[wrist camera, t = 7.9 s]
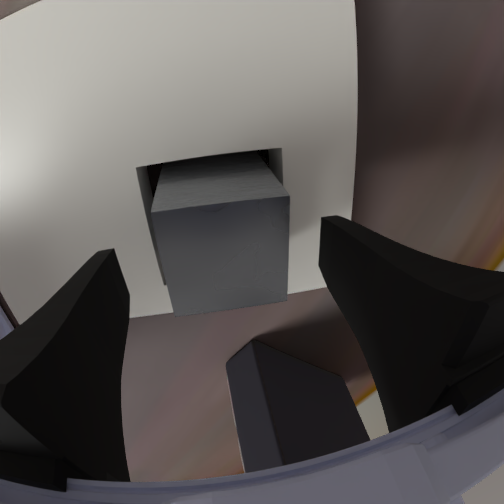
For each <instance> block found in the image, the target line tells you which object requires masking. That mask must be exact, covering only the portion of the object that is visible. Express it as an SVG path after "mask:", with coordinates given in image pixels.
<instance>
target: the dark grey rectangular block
mask: <svg viewBox="0 0 504 504" xmlns="http://www.w3.org/2000/svg"><path fill="white" fill-rule="evenodd" d="M226 370H227V381H228V387H229V393H230V399H231V405H232V411H233V416H234V422H235V426H236V428H237V433H238V443H239V449H240V454H241V459H242V464H243V469H244V473H249V472H255V471H261V470H266V469H271V468H276V467H280V466H285V465H289V464H293V463H298V462H302V461H306V460H309V459H313V458H317V457H320V456H324V455H327V454H331V453H334V452H337V451H341V450H344V449H347V448H350V447H353V446H356V445H359V444H362V443H365V442H367V441H370V438H369V436H368V434H367V432H366V429H365V427H364V424H363V422H362V420H361V417H360V415H359V413H358V411H357V408H356V406H355V404H354V402H353V399H352V397H351V395H350V393H349V390H348V388H347V386H346V384H345V382H344V380H343V378H342V377H340V376H338V375H335V374H333V373H330V372H328V371H325V370H323V369H321V368H318V367H316V366H313V365H311V364H308V363H306V362H304V361H301V360H299V359H297V358H294V357H292V356H290V355H287V354H285V353H283V352H280V351H278V350H276V349H274V348H271V347H269V346H267V345H265V344H263V343H260V342H258V341H256V340H252V341H251V342H250V343H249V344H247V345H246V346H245V347H244V348H243V349H242V350H240V351H239V352H238V353H237V354H236V355H235V356H233V357H232V358H231V359H230V360H229V361H228V362H227V363H226Z"/></svg>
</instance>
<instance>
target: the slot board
mask: <svg viewBox="0 0 504 504" xmlns="http://www.w3.org/2000/svg"><path fill="white" fill-rule="evenodd" d="M357 103H358V71H357V36H356V17H355V2H354V0H42V1H39V2H37V3H35V4H32V5H30V6H28V7H26V8H24V9H21V10H19V11H17V12H15V13H13V14H11V15H9V16H7V17H5V18H3V19H2V20H0V292H1V294H2V295H3V297H4V299H5V301H6V303H7V304H8V306H9V308H10V309H11V311H12V313H13V315H14V316H15V318H16V320H17V321H18V323H19V324H20V325H21V324H22V323H23V322H25V321H26V320H27V319H28V318H29V317H30V316H32V315H33V314H34V313H35V312H36V311H37V310H39V309H40V308H41V307H42V306H43V305H44V304H45V303H46V302H47V301H48V300H49V299H50V298H51V297H52V296H53V295H54V294H55V293H56V292H57V291H58V290H59V289H60V288H61V287H62V286H63V285H64V284H65V283H66V282H67V281H68V280H69V279H70V278H71V277H72V276H73V275H74V274H75V273H76V272H77V271H78V270H79V269H80V268H81V267H82V266H83V265H84V264H85V263H86V261H87V260H89V259H90V258H91V257H92V256H93V255H94V254H95V253H96V252H98V251H101V250H107V249H112V248H114V249H115V252H116V255H117V259H118V262H119V265H120V268H121V270H122V273H123V276H124V279H125V282H126V285H127V288H128V290H129V293H130V316H129V318H133V317H141V316H149V315H157V314H164V313H172V312H173V308H172V304H171V300H170V296H169V292H168V288H167V284H166V280H165V276H164V272H163V268H162V264H161V259H160V255H159V251H158V246H157V242H156V237H155V232H154V227H153V223H152V218H151V213H150V212H151V208H152V204H153V195H152V190H151V185H150V180H149V175H148V169H147V165H152V164H158V163H164V162H170V161H176V160H182V159H189V158H196V157H203V156H210V155H217V154H225V153H234V152H242V151H252V150H262V149H268V155H269V169H270V170H271V171H272V173H273V174H274V175H275V177H276V178H277V179H278V180H279V182H280V183H281V184H282V186H283V187H284V188H285V190H286V191H287V192H288V194H289V195H290V226H289V265H288V294H291V293H297V292H302V291H308V290H313V289H318V288H323V287H327V285H326V283H325V281H324V278H323V276H322V273H321V271H320V268H319V266H318V261H319V245H320V227H321V217H326V216H333V215H338V216H341V217H344V218H346V219H349V220H351V215H352V203H353V191H354V177H355V161H356V140H357Z"/></svg>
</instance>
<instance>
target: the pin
mask: <svg viewBox="0 0 504 504" xmlns="http://www.w3.org/2000/svg"><path fill="white" fill-rule="evenodd" d="M150 213H151V218H152V223H153V227H154V232H155V237H156V242H157V246H158V251H159V255H160V259H161V264H162V268H163V272H164V276H165V280H166V284H167V288H168V292H169V296H170V300H171V304H172V308H173V312H174V315H175V317H177V316H185V315H193V314H201V313H209V312H216V311H223V310H230V309H237V308H244V307H251V306H258V305H264V304H270V303H277V302H283V301H287V294H288V265H289V226H290V195H289V194H288V192H287V191H286V190H285V188H284V187H283V186H282V184H281V183H280V182H279V180H278V179H277V178H276V177H275V175H274V174H273V173H272V171H271V170H270V169H269V167H268V166H267V165H266V163H265V162H264V161H263V160H262V158H261V157H260V156H259V154H258V153H257V152H256V151H255V150H252V151H242V152H234V153H225V154H217V155H210V156H203V157H196V158H189V159H182V160H176V161H170V162H164V163H163V166H162V169H161V173H160V177H159V181H158V184H157V188H156V192H155V196H154V200H153V204H152V208H151V212H150Z"/></svg>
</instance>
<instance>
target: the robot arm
mask: <svg viewBox="0 0 504 504" xmlns="http://www.w3.org/2000/svg"><path fill="white" fill-rule="evenodd" d="M318 266H319V268H320V271H321V273H322V276H323V278H324V281H325V283H326V285H327V287H328V289H329V291H330V293H331V294H332V296H333V298H334V300H335V301H336V303H337V305H338V306H339V308H340V310H341V311H342V313H343V315H344V316H345V318H346V320H347V322H348V323H349V325H350V327H351V328H352V330H353V332H354V334H355V336H356V338H357V340H358V342H359V344H360V346H361V348H362V351H363V353H364V356H365V358H366V361H367V363H368V366H369V368H370V371H371V374H372V376H373V379H374V382H375V385H376V388H377V391H378V394H379V397H380V400H381V403H382V407H383V410H384V414H385V417H386V422H387V426H388V430H389V433H388V434H386V435H383V436H381V437H378V438H376V439H373V440H370V441H367V442H365V443H362V444H359V445H356V446H353V447H350V448H347V449H344V450H341V451H337V452H334V453H331V454H327V455H324V456H320V457H317V458H313V459H309V460H306V461H302V462H298V463H293V464H289V465H285V466H280V467H276V468H271V469H266V470H261V471H255V472H249V473H243V474H237V475H230V476H223V477H215V478H206V479H195V480H183V481H165V482H130V477H129V472H128V466H127V460H126V454H125V446H124V438H123V428H122V412H121V375H122V366H123V358H124V351H125V345H126V338H127V332H128V325H129V316H130V293H129V290H128V288H127V285H126V282H125V279H124V276H123V273H122V270H121V268H120V265H119V262H118V259H117V255H116V252H115V249H114V248H112V249H107V250H101V251H98V252H96V253H95V254H94V255H93V256H92V257H91V258H90V259H89V260H87V261H86V263H85V264H84V265H83V266H82V267H81V268H80V269H79V270H78V271H77V272H76V273H75V274H74V275H73V276H72V277H71V278H70V279H69V280H68V281H67V282H66V283H65V284H64V285H63V286H62V287H61V288H60V289H59V290H58V291H57V292H56V293H55V294H54V295H53V296H52V297H51V298H50V299H49V300H48V301H47V302H46V303H45V304H44V305H43V306H42V307H41V308H40V309H39V310H37V311H36V312H35V313H34V314H33V315H32V316H30V317H29V318H28V319H27V320H26V321H25V322H23V323H22V324H21V325H19V326H18V327H17V328H15V329H14V327H13V326H12V324H11V323H10V321H9V319H8V318H7V316H6V314H5V313H4V311H3V309H2V308H1V306H0V504H465V503H464V501H463V499H462V496H461V495H462V494H463V493H465V492H466V491H468V490H469V489H471V488H472V487H473V486H475V485H476V484H478V483H479V482H480V481H482V480H483V479H485V478H486V477H487V476H489V475H490V474H491V473H492V472H494V471H495V470H496V469H497V468H499V467H500V466H501V465H503V464H504V272H499V271H491V270H485V269H480V268H475V267H470V266H466V265H461V264H457V263H454V262H450V261H447V260H443V259H440V258H437V257H433V256H431V255H428V254H425V253H422V252H419V251H417V250H414V249H412V248H409V247H407V246H404V245H402V244H400V243H398V242H395V241H393V240H391V239H389V238H386V237H384V236H382V235H380V234H378V233H376V232H374V231H372V230H370V229H368V228H366V227H364V226H362V225H359V224H357V223H355V222H353V221H351V220H349V219H346V218H344V217H341V216H338V215H333V216H326V217H321V227H320V245H319V261H318Z"/></svg>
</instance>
